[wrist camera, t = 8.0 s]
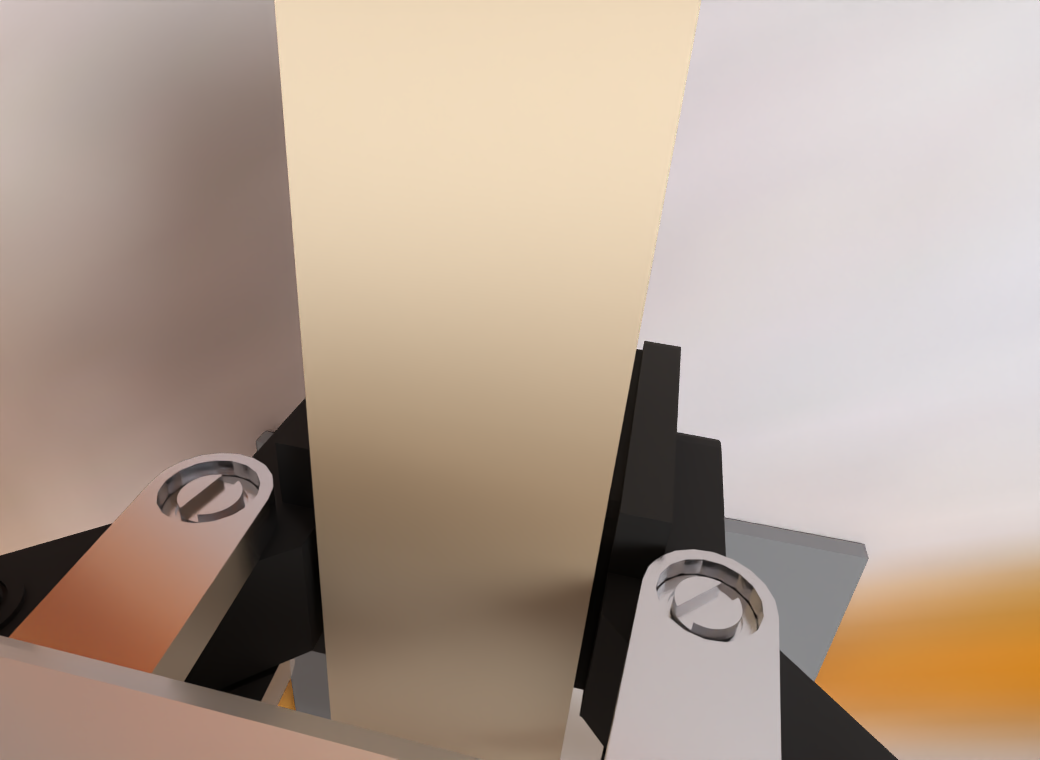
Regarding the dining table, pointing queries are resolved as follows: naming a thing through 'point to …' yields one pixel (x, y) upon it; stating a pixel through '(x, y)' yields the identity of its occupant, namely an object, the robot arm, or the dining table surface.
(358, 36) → the turner
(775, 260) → the dining table surface
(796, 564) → the mat
